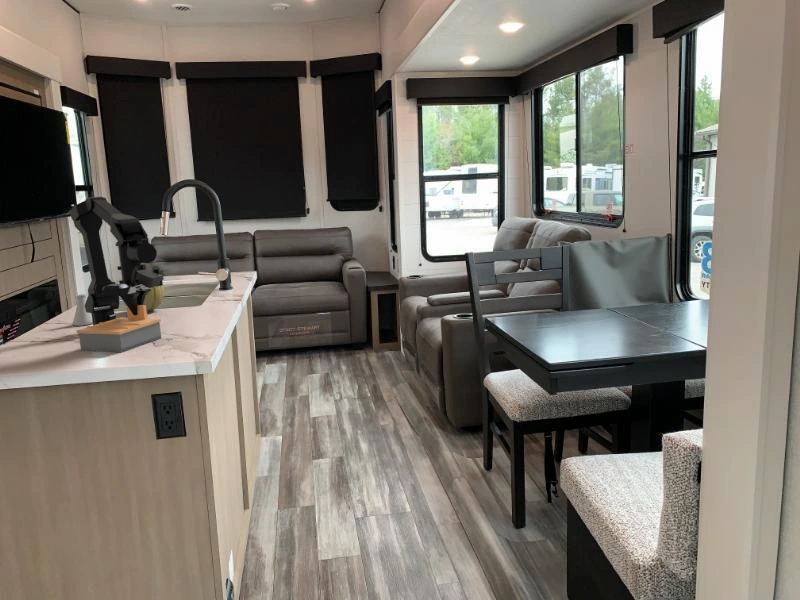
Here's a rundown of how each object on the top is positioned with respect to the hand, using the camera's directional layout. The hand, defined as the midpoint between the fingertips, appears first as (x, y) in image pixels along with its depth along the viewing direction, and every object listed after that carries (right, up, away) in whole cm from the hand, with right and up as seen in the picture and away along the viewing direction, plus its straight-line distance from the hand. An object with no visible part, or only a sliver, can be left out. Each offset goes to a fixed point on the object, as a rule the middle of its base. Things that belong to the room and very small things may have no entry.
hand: (137, 314), depth 186 cm
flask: (-29, -4, +27) cm, 40 cm away
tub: (-2, -8, -6) cm, 10 cm away
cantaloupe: (-16, 0, +45) cm, 47 cm away
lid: (-2, -3, -6) cm, 8 cm away
